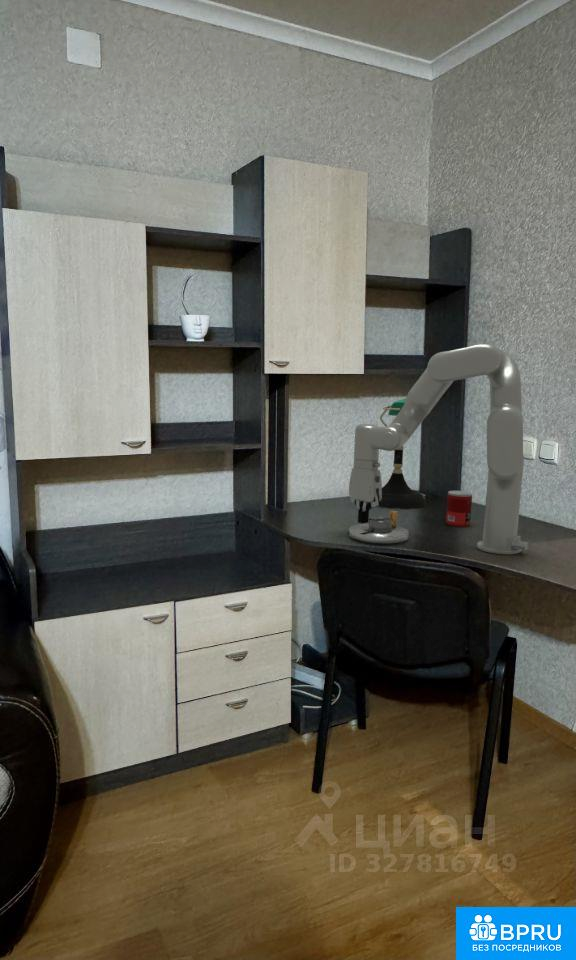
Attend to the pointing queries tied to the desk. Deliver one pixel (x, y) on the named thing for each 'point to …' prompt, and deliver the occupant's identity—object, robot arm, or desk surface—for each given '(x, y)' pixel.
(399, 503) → the banker's lamp
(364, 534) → the turntable
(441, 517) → the desk surface
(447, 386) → the robot arm
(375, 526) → the cover
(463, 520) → the canned food
